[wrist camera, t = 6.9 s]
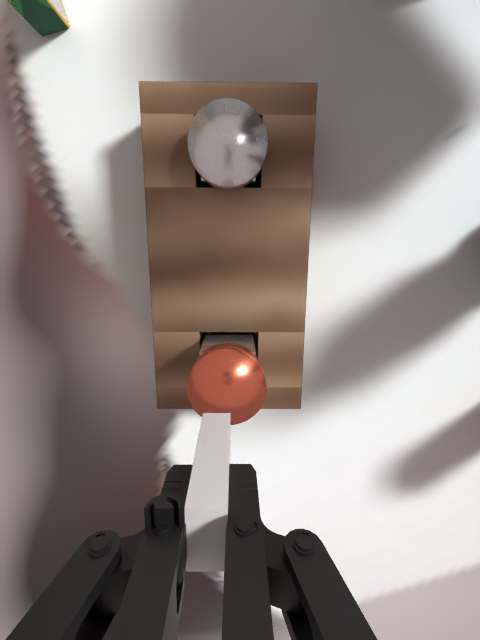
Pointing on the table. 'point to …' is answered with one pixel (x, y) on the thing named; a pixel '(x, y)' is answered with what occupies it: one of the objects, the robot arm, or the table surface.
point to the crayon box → (42, 14)
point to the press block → (228, 236)
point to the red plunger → (227, 377)
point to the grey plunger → (227, 144)
